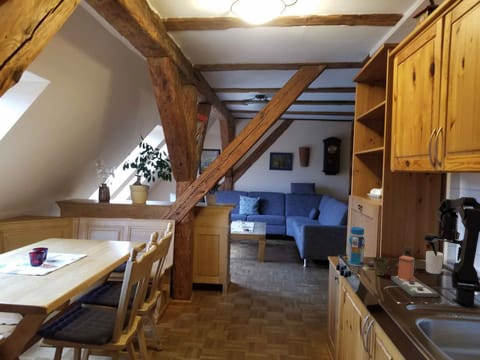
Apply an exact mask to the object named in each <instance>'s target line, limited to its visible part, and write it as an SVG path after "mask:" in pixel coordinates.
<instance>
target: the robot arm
mask: <svg viewBox="0 0 480 360" xmlns="http://www.w3.org/2000/svg"><path fill="white" fill-rule="evenodd" d="M437 210H438V211H437V212H436V215H435V217H436V219H437V220H438V222H441V223H442V224H441V225H442V226H441V228H440V230H441V236H439V235H438V234H437V233H433V232H429V233H426V234H425V235H424V241H427V243H429V245H430V247H431V248H432V251H434V254H435V256H437V252H438V244H439V242H445V243H450V244H455V245H459V247H458V248H457V249H458V250H457V257H456V261H457V262H454V263H453V270H452V271H451V274H450V277H451V285H452V286H451V287H452V288H453V289H455V298H452V299H451V300H452V301H453V302H455V303H456V304H457V305H459V306H460V307H463V308H465V307H466V308H478V305H477V304H476V303H475V297H476V292H478V293H480V280H479V276H478V271H477V270H476V267H475V261H476V260H475V259H476V254H477V248H478V242H479V237H480V202H478V201H477V198H475V197H473V196H472V197H470V196H462V197H460V198H443V199H442V201H440V204H439V205H438V207H437ZM458 214H459V215H458ZM459 216H460V220H461V221H460V222H461V223H462V225H463V227H464V231H463V232H464V233H463V239H461V240H460V235H461V233H460V232H459V231H458V226H457V225H458V218H459Z"/></svg>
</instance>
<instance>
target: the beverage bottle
mask: <svg viewBox="0 0 480 360" xmlns="http://www.w3.org/2000/svg"><path fill="white" fill-rule="evenodd" d="M364 234H365V228H363V227H359V226H351V228H350V236H349V238H348V241H349V242H348V252H347V253H348V255H347V264H348V265H350V266H353V267H362V266H364V258H365V249H366V248H365V247H366V245H365V242H366V240H365V238H364Z"/></svg>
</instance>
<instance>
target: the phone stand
mask: <svg viewBox="0 0 480 360" xmlns="http://www.w3.org/2000/svg"><path fill="white" fill-rule="evenodd" d="M407 249H408V250H407ZM412 254H413V253H412V246H410V245H405V246H404V252H403V253H402V255H401V256H408V257H412V258H414V257H413V255H412ZM396 269H397V270H398V269H399V262H398V263H397V267H396ZM414 272H415V273H416V272H417V267H416V264H415V262H414Z"/></svg>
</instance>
